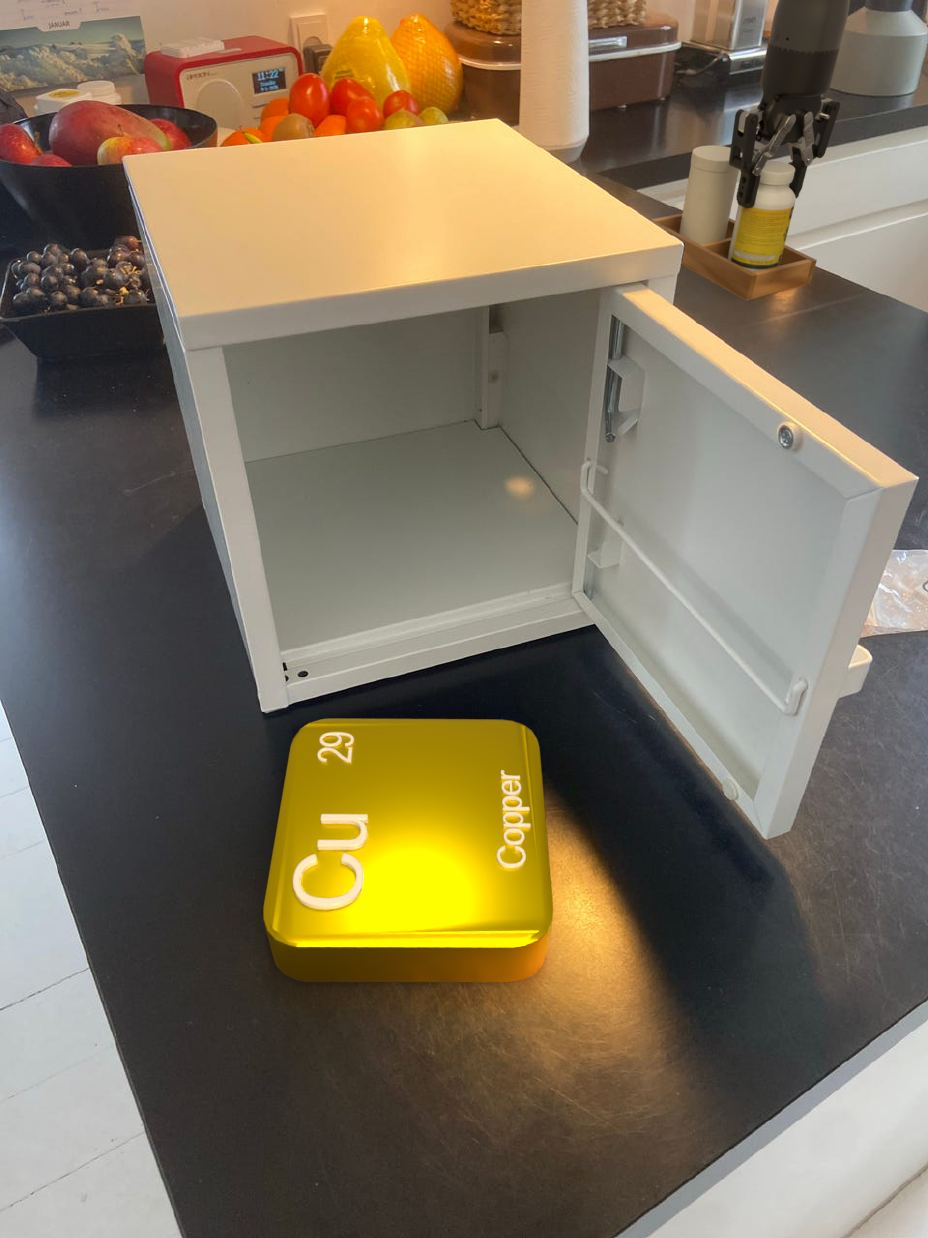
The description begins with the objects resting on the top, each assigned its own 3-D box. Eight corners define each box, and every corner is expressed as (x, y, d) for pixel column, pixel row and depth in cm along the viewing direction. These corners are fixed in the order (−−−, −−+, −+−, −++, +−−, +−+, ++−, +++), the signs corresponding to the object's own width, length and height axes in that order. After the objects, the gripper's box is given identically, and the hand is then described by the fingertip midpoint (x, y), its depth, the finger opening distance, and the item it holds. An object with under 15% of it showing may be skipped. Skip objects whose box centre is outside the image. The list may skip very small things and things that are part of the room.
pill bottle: (778, 278, 112) (803, 178, 104) (724, 272, 113) (745, 172, 105) (779, 258, 117) (803, 161, 109) (727, 252, 118) (748, 155, 110)
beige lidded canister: (702, 237, 125) (720, 142, 117) (732, 253, 121) (753, 156, 113) (666, 245, 123) (682, 149, 115) (696, 261, 119) (715, 163, 111)
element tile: (550, 985, 48) (558, 941, 45) (266, 985, 48) (253, 940, 45) (533, 760, 59) (538, 711, 56) (301, 759, 59) (293, 710, 56)
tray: (703, 233, 128) (708, 207, 125) (809, 287, 115) (817, 259, 113) (642, 246, 124) (646, 219, 122) (745, 304, 111) (752, 275, 109)
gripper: (779, 53, 93) (743, 221, 105) (879, 40, 99) (833, 202, 110) (730, 39, 98) (700, 201, 109) (827, 27, 103) (789, 183, 115)
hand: (767, 201), depth 110 cm, fingers closed on pill bottle, 6 cm apart
